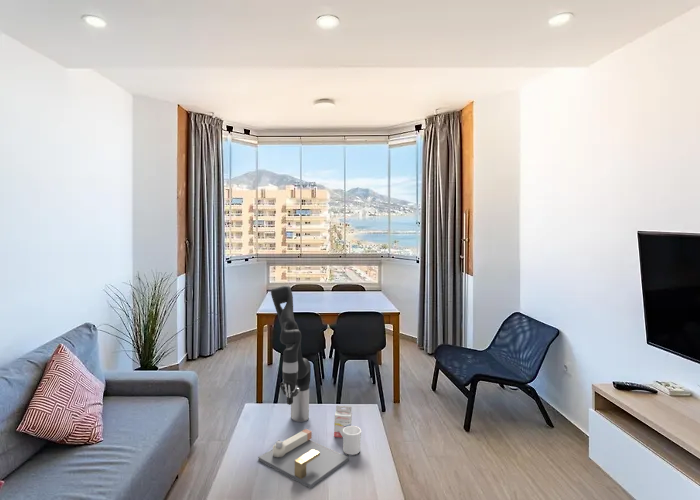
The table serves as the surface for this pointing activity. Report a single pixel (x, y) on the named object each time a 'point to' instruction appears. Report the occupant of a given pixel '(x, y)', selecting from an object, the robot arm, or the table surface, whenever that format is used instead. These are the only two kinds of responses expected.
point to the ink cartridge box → (342, 420)
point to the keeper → (304, 462)
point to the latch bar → (291, 443)
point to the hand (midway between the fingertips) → (289, 404)
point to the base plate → (314, 469)
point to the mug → (351, 440)
